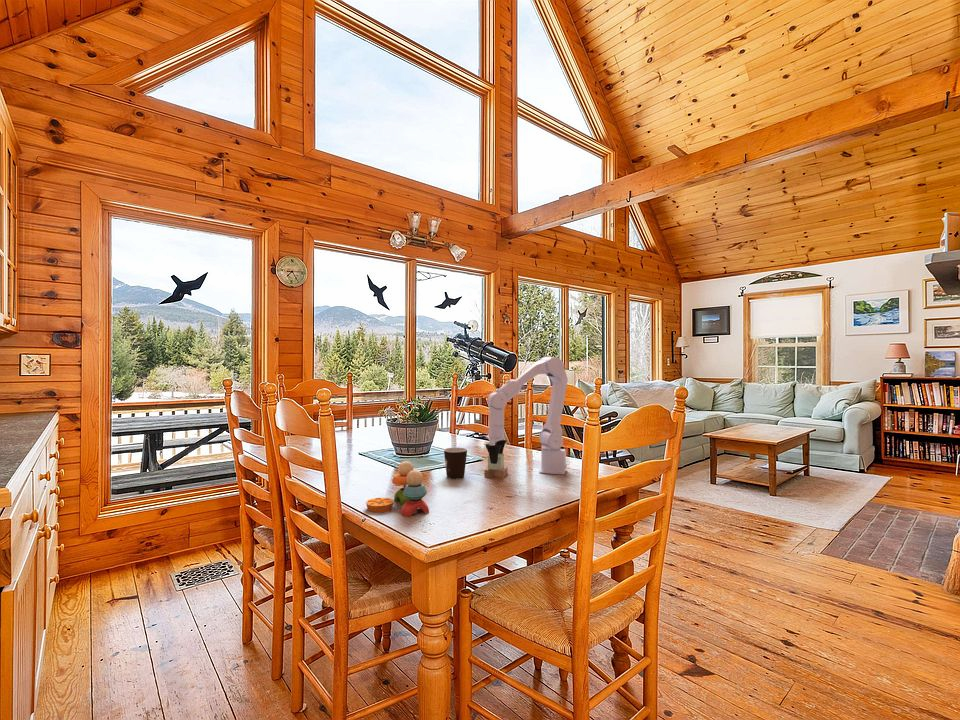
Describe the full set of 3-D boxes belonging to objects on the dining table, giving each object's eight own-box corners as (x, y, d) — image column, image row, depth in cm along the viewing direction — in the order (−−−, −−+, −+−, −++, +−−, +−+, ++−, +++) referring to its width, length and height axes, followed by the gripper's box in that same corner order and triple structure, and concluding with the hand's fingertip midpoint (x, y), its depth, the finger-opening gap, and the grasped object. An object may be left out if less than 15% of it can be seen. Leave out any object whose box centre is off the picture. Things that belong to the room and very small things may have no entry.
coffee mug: (464, 480, 174) (464, 452, 173) (441, 479, 175) (441, 451, 175) (470, 472, 185) (470, 446, 185) (448, 471, 186) (448, 445, 186)
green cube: (504, 467, 183) (504, 453, 183) (501, 470, 178) (501, 456, 178) (491, 466, 184) (491, 453, 184) (487, 469, 180) (488, 455, 179)
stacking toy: (359, 506, 144) (359, 465, 144) (410, 496, 155) (410, 457, 155) (387, 524, 130) (387, 477, 130) (441, 511, 141) (441, 468, 140)
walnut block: (507, 474, 183) (507, 466, 183) (502, 479, 177) (502, 471, 177) (489, 473, 186) (489, 465, 186) (484, 477, 179) (484, 469, 179)
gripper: (490, 421, 189) (490, 456, 189) (481, 427, 175) (480, 464, 175) (508, 422, 187) (508, 457, 187) (500, 428, 173) (500, 466, 173)
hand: (496, 461), depth 181 cm, fingers open, 7 cm apart
